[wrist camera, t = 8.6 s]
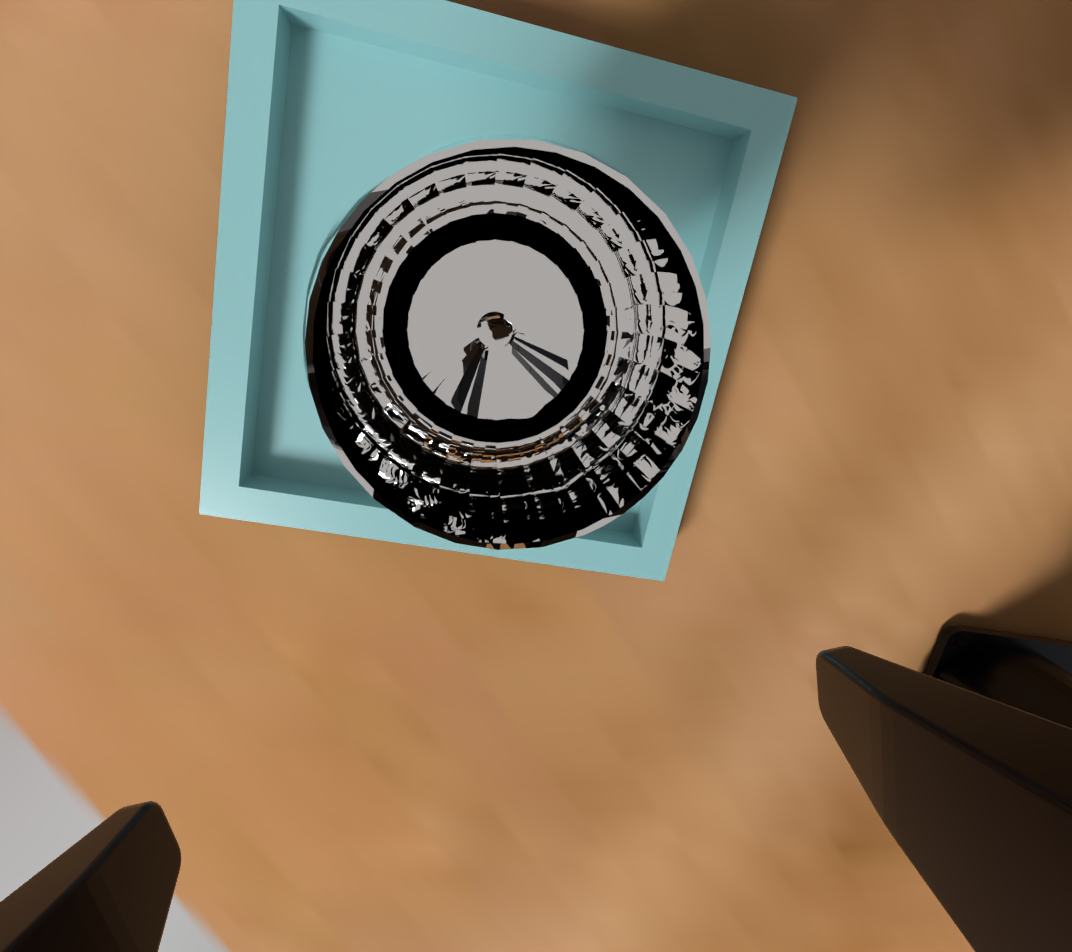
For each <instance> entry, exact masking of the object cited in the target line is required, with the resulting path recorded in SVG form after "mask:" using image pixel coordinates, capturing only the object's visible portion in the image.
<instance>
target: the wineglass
mask: <svg viewBox="0 0 1072 952" xmlns="http://www.w3.org/2000/svg"><path fill="white" fill-rule="evenodd" d="M302 332H303V353H304V366H305V372H306V376H307V381H308V384H309V388H310V392H311V395H312V399H313V403H314V406H315V410H316V413H317V416H318V419H319V421H320V424H321V426H322V428H323V430H324V432H325V434H326V435H327V437H328V439H329V441H330V442H331V444H332V446H333V448H334V450H335V451H336V453H337V455H338V457H339V458H340V460H341V462H342V463H343V465H344V466H345V467H346V469H347V470H348V471H349V472H350V473H351V474H352V475H353V476H354V477H355V479H356V480H357V481H358V482H359V483H360V484H361V485H362V486H363V487H364V488H365V490H366V491H367V492H368V493H369V494H370V495H371V496H372V497H373V498H374V499H375V500H376V501H377V502H379V503H380V504H382V505H383V506H385V507H386V508H387V509H389V510H390V511H392V512H393V513H395V514H396V515H398V516H399V517H401V518H402V519H403V520H405V521H406V522H408V523H409V524H411V525H412V526H414V527H415V528H418V529H421V530H423V531H426V532H428V533H431V534H433V535H436V536H438V537H441V538H443V539H446V540H448V541H451V542H454V543H458V544H464V545H470V546H476V547H482V548H489V549H495V550H505V549H522V548H539V547H545V546H548V545H552V544H555V543H559V542H562V541H565V540H569V539H572V538H576V537H579V536H583V535H586V534H588V533H590V532H592V531H594V530H596V529H598V528H600V527H603V526H604V525H606V524H608V523H609V522H611V521H613V520H614V519H616V518H617V517H619V516H621V515H622V514H624V513H625V512H626V511H628V510H629V509H630V508H631V507H633V506H634V505H635V504H636V503H638V502H639V501H640V500H641V499H643V498H644V497H645V496H646V495H647V494H648V493H649V492H650V490H651V489H652V488H653V487H654V486H655V485H656V484H657V483H658V482H659V481H660V480H661V479H662V478H663V477H664V476H665V474H666V473H667V471H668V470H669V468H670V467H671V466H672V464H673V463H674V461H675V460H676V458H677V457H678V456H679V454H680V453H681V451H682V450H683V448H684V446H685V444H686V441H687V439H688V437H689V435H690V433H691V431H692V429H693V427H694V425H695V423H696V421H697V419H698V415H699V412H700V408H701V405H702V401H703V397H704V394H705V390H706V387H707V383H708V374H709V362H710V350H711V334H710V326H709V318H708V310H707V301H706V296H705V293H704V290H703V287H702V284H701V281H700V279H699V276H698V273H697V270H696V267H695V264H694V261H693V258H692V256H691V254H690V252H689V251H688V249H687V247H686V246H685V244H684V242H683V241H682V239H681V238H680V236H679V234H678V233H677V231H676V229H675V228H674V226H673V225H672V223H671V221H670V220H669V218H668V217H667V215H666V214H665V213H664V212H663V211H662V210H661V209H660V208H659V207H658V206H657V205H656V204H655V203H654V202H653V201H652V200H651V198H650V197H649V196H648V195H647V194H646V193H645V192H644V191H643V190H642V189H641V188H640V187H639V186H638V185H637V184H636V183H634V182H633V181H632V180H630V179H629V178H628V177H627V176H625V175H624V174H623V173H621V172H620V171H619V170H618V169H616V168H615V167H614V166H612V165H611V164H609V163H607V162H606V161H604V160H603V159H601V158H600V157H598V156H596V155H594V154H592V153H590V152H588V151H586V150H584V149H581V148H578V147H576V146H573V145H570V144H567V143H564V142H561V141H558V140H555V139H552V138H547V137H542V136H537V135H532V134H527V133H522V132H497V133H469V134H465V135H461V136H457V137H453V138H449V139H446V140H443V141H440V142H436V143H433V144H430V145H426V146H423V147H421V148H419V149H417V150H415V151H413V152H411V153H409V154H407V155H405V156H403V157H401V158H400V159H398V160H397V161H395V162H394V163H393V164H391V165H390V166H388V167H387V168H385V169H384V170H382V171H381V172H380V173H378V174H377V175H376V176H375V177H374V178H373V179H372V180H370V181H369V182H368V183H367V184H366V185H365V186H364V187H363V188H362V189H361V190H360V191H359V192H358V193H357V194H356V195H355V196H354V197H353V198H352V200H351V201H350V202H349V204H348V205H347V206H346V208H345V209H344V210H343V211H342V213H341V214H340V215H339V217H338V218H337V219H336V221H335V222H334V224H333V226H332V228H331V230H330V232H329V234H328V236H327V238H326V240H325V241H324V243H323V245H322V247H321V249H320V251H319V253H318V256H317V259H316V262H315V265H314V268H313V271H312V274H311V277H310V280H309V284H308V288H307V294H306V303H305V313H304V322H303V331H302Z"/></svg>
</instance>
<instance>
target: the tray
mask: <svg viewBox="0 0 1072 952" xmlns="http://www.w3.org/2000/svg"><path fill="white" fill-rule="evenodd" d="M797 99H798V98H797V97H794V96H790V95H786V94H783V93H779V92H776V91H772V90H768V89H765V88H761V87H758V86H754V85H750V84H747V83H743V82H739V81H736V80H732V79H729V78H725V77H721V76H718V75H714V74H711V73H707V72H703V71H700V70H696V69H692V68H689V67H685V66H682V65H678V64H674V63H671V62H667V61H664V60H660V59H656V58H653V57H649V56H645V55H642V54H638V53H635V52H631V51H627V50H624V49H620V48H616V47H613V46H609V45H606V44H602V43H598V42H595V41H591V40H588V39H584V38H580V37H577V36H573V35H569V34H566V33H562V32H559V31H555V30H551V29H548V28H544V27H541V26H537V25H533V24H530V23H526V22H522V21H519V20H515V19H512V18H508V17H504V16H501V15H497V14H494V13H490V12H486V11H483V10H479V9H475V8H472V7H468V6H465V5H461V4H457V3H454V2H450V1H446V0H234V4H233V19H232V33H231V48H230V63H229V78H228V93H227V107H226V122H225V137H224V152H223V167H222V181H221V196H220V211H219V226H218V241H217V255H216V270H215V285H214V300H213V315H212V329H211V344H210V359H209V374H208V389H207V403H206V418H205V433H204V448H203V463H202V477H201V492H200V507H199V514H203V515H210V516H217V517H224V518H231V519H238V520H244V521H251V522H258V523H265V524H272V525H279V526H286V527H293V528H300V529H307V530H314V531H320V532H327V533H334V534H341V535H348V536H355V537H362V538H369V539H376V540H383V541H390V542H396V543H403V544H410V545H417V546H424V547H431V548H438V549H445V550H452V551H459V552H466V553H472V554H479V555H486V556H493V557H500V558H507V559H514V560H521V561H528V562H535V563H542V564H548V565H555V566H562V567H569V568H576V569H583V570H590V571H597V572H604V573H611V574H618V575H624V576H631V577H638V578H645V579H652V580H659V581H664V580H665V576H666V573H667V569H668V566H669V562H670V558H671V555H672V551H673V547H674V544H675V540H676V537H677V533H678V529H679V526H680V522H681V519H682V515H683V511H684V508H685V504H686V501H687V497H688V493H689V490H690V486H691V482H692V479H693V475H694V472H695V468H696V464H697V461H698V457H699V454H700V450H701V446H702V443H703V439H704V435H705V432H706V428H707V425H708V421H709V417H710V414H711V410H712V407H713V403H714V399H715V396H716V392H717V388H718V385H719V381H720V378H721V374H722V370H723V367H724V363H725V360H726V356H727V352H728V349H729V345H730V341H731V338H732V334H733V331H734V327H735V323H736V320H737V316H738V313H739V309H740V305H741V302H742V298H743V295H744V291H745V287H746V284H747V280H748V276H749V273H750V269H751V266H752V262H753V258H754V255H755V251H756V248H757V244H758V240H759V237H760V233H761V229H762V226H763V222H764V219H765V215H766V211H767V208H768V204H769V201H770V197H771V193H772V190H773V186H774V182H775V179H776V175H777V172H778V168H779V164H780V161H781V157H782V154H783V150H784V146H785V143H786V139H787V136H788V132H789V128H790V125H791V121H792V117H793V114H794V110H795V107H796V103H797ZM497 132H522V133H527V134H532V135H537V136H542V137H547V138H552V139H555V140H558V141H561V142H564V143H567V144H570V145H573V146H576V147H578V148H581V149H584V150H586V151H588V152H590V153H592V154H594V155H596V156H598V157H600V158H601V159H603V160H604V161H606V162H607V163H609V164H611V165H612V166H614V167H615V168H616V169H618V170H619V171H620V172H621V173H623V174H624V175H625V176H627V177H628V178H629V179H630V180H632V181H633V182H634V183H636V184H637V185H638V186H639V187H640V188H641V189H642V190H643V191H644V192H645V193H646V194H647V195H648V196H649V197H650V198H651V200H652V201H653V202H654V203H655V204H656V205H657V206H658V207H659V208H660V209H661V210H662V211H663V212H664V213H665V214H666V215H667V217H668V218H669V220H670V221H671V223H672V225H673V226H674V228H675V229H676V231H677V233H678V234H679V236H680V238H681V239H682V241H683V242H684V244H685V246H686V247H687V249H688V251H689V252H690V254H691V256H692V258H693V261H694V264H695V267H696V270H697V273H698V276H699V279H700V281H701V284H702V287H703V290H704V293H705V296H706V301H707V310H708V318H709V326H710V334H711V350H710V362H709V374H708V383H707V387H706V390H705V394H704V397H703V401H702V405H701V408H700V412H699V415H698V419H697V421H696V423H695V425H694V427H693V429H692V431H691V433H690V435H689V437H688V439H687V441H686V444H685V446H684V448H683V450H682V451H681V453H680V454H679V456H678V457H677V458H676V460H675V461H674V463H673V464H672V466H671V467H670V468H669V470H668V471H667V473H666V474H665V476H664V477H663V478H662V479H661V480H660V481H659V482H658V483H657V484H656V485H655V486H654V487H653V488H652V489H651V490H650V492H649V493H648V494H647V495H646V496H645V497H644V498H643V499H641V500H640V501H639V502H638V503H636V504H635V505H634V506H633V507H631V508H630V509H629V510H628V511H626V512H625V513H624V514H622V515H621V516H619V517H617V518H616V519H614V520H613V521H611V522H609V523H608V524H606V525H604V526H603V527H600V528H598V529H596V530H594V531H592V532H590V533H588V534H586V535H583V536H579V537H576V538H572V539H569V540H565V541H562V542H559V543H555V544H552V545H548V546H545V547H539V548H522V549H505V550H495V549H489V548H482V547H476V546H470V545H464V544H458V543H454V542H451V541H448V540H446V539H443V538H441V537H438V536H436V535H433V534H431V533H428V532H426V531H423V530H421V529H418V528H415V527H414V526H412V525H411V524H409V523H408V522H406V521H405V520H403V519H402V518H401V517H399V516H398V515H396V514H395V513H393V512H392V511H390V510H389V509H387V508H386V507H385V506H383V505H382V504H380V503H379V502H377V501H376V500H375V499H374V498H373V497H372V496H371V495H370V494H369V493H368V492H367V491H366V490H365V488H364V487H363V486H362V485H361V484H360V483H359V482H358V481H357V480H356V479H355V477H354V476H353V475H352V474H351V473H350V472H349V471H348V470H347V469H346V467H345V466H344V465H343V463H342V462H341V460H340V458H339V457H338V455H337V453H336V451H335V450H334V448H333V446H332V444H331V442H330V441H329V439H328V437H327V435H326V434H325V432H324V430H323V428H322V426H321V424H320V421H319V419H318V416H317V413H316V410H315V406H314V403H313V399H312V395H311V392H310V388H309V384H308V381H307V376H306V372H305V366H304V353H303V332H302V331H303V322H304V313H305V303H306V294H307V288H308V284H309V280H310V277H311V274H312V271H313V268H314V265H315V262H316V259H317V256H318V253H319V251H320V249H321V247H322V245H323V243H324V241H325V240H326V238H327V236H328V234H329V232H330V230H331V228H332V226H333V224H334V222H335V221H336V219H337V218H338V217H339V215H340V214H341V213H342V211H343V210H344V209H345V208H346V206H347V205H348V204H349V202H350V201H351V200H352V198H353V197H354V196H355V195H356V194H357V193H358V192H359V191H360V190H361V189H362V188H363V187H364V186H365V185H366V184H367V183H368V182H369V181H370V180H372V179H373V178H374V177H375V176H376V175H377V174H378V173H380V172H381V171H382V170H384V169H385V168H387V167H388V166H390V165H391V164H393V163H394V162H395V161H397V160H398V159H400V158H401V157H403V156H405V155H407V154H409V153H411V152H413V151H415V150H417V149H419V148H421V147H423V146H426V145H430V144H433V143H436V142H440V141H443V140H446V139H449V138H453V137H457V136H461V135H465V134H469V133H497Z"/></svg>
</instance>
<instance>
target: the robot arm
mask: <svg viewBox="0 0 1072 952" xmlns="http://www.w3.org/2000/svg"><path fill="white" fill-rule="evenodd" d="M956 638H957V639H956ZM955 639H956V641H955V642H953V641H954V640H955ZM816 671H817V685H818V700H819V706H820V710H821V713H822V716H823V718H824V720H825V722H826V724H827V726H828V728H829V729H830V731H831V733H832V734H833V736H834V738H835V740H836V741H837V743H838V745H839V747H840V748H841V750H842V752H843V754H844V755H845V757H846V759H847V761H848V762H849V764H850V766H851V768H852V769H853V771H854V773H855V775H856V776H857V778H858V780H859V782H860V783H861V785H862V787H863V788H864V790H865V792H866V794H867V795H868V797H869V799H870V801H871V802H872V804H873V806H874V808H875V809H876V811H877V813H878V814H879V816H880V817H881V819H882V821H883V822H884V824H885V825H886V827H887V828H888V830H889V831H890V833H891V834H892V836H893V837H894V839H895V840H896V842H897V843H898V844H899V846H900V847H901V849H902V850H903V851H904V853H905V854H906V856H907V857H908V858H909V860H910V861H911V863H912V864H913V865H914V867H915V868H916V870H917V871H918V872H919V874H920V875H921V877H922V878H923V879H924V881H925V882H926V884H927V885H928V886H929V888H930V889H931V891H932V892H933V893H934V895H935V896H936V898H937V899H938V900H939V902H940V903H941V905H942V906H943V907H944V909H945V910H946V911H947V913H948V914H949V916H950V917H951V918H952V920H953V921H954V923H955V924H956V925H957V927H958V928H959V930H960V931H961V932H962V934H963V935H964V937H965V938H966V939H967V941H968V942H969V944H970V945H971V946H972V948H973V949H974V951H975V952H1072V642H1068V641H1061V640H1054V639H1047V638H1040V637H1033V636H1026V635H1019V634H1013V633H1006V632H999V631H992V630H985V629H978V628H971V627H964V626H957V625H954V626H949V627H947V628H946V629H944V630H943V631H942V633H941V634H940V636H939V639H938V641H937V643H936V646H935V648H934V651H933V653H932V656H931V658H930V661H929V663H928V665H927V668H926V670H925V673H924V674H923V673H920V672H917V671H915V670H912V669H909V668H906V667H904V666H901V665H898V664H896V663H893V662H890V661H888V660H885V659H882V658H879V657H877V656H874V655H871V654H869V653H866V652H863V651H861V650H858V649H855V648H852V647H849V646H842V647H837V648H833V649H828V650H824V651H821V652H820V653H819V654H818V655H817V658H816ZM180 865H181V852H180V848H179V845H178V843H177V840H176V838H175V836H174V834H173V831H172V829H171V827H170V825H169V823H168V820H167V818H166V816H165V814H164V812H163V809H162V808H161V806H160V805H159V804H158V803H156V802H152V801H149V802H144V803H140V804H135V805H131V806H127V807H123V808H121V809H119V810H118V811H116V812H115V813H114V814H113V815H111V816H110V817H109V818H107V819H106V820H105V821H104V822H102V823H101V824H100V825H99V826H97V827H96V828H95V829H94V830H92V831H91V832H90V833H88V834H87V835H86V836H84V837H83V838H82V839H81V840H79V841H78V842H77V843H76V844H74V845H73V846H72V847H70V848H69V849H68V850H67V851H65V852H64V853H63V854H62V855H60V856H59V857H58V858H56V859H55V860H54V861H52V862H51V863H50V864H49V865H47V866H46V867H45V868H44V869H42V870H41V871H40V872H38V873H37V874H36V875H35V876H33V877H32V878H31V879H29V881H27V882H26V883H24V884H23V885H22V886H20V887H19V888H18V889H17V890H15V891H14V892H13V893H12V894H10V895H9V896H8V897H6V898H5V899H4V900H3V901H1V902H0V952H158V949H159V945H160V941H161V937H162V934H163V930H164V927H165V923H166V919H167V915H168V911H169V908H170V904H171V900H172V897H173V893H174V889H175V886H176V882H177V878H178V874H179V871H180Z"/></svg>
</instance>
